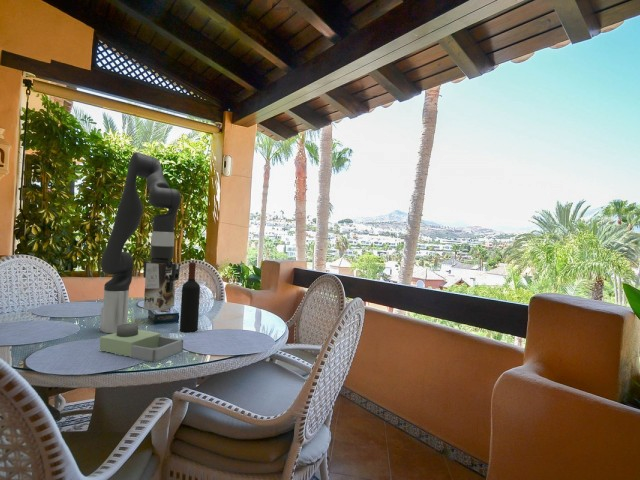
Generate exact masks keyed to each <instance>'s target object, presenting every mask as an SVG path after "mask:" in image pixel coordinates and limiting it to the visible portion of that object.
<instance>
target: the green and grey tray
mask: <svg viewBox="0 0 640 480" xmlns="http://www.w3.org/2000/svg"><path fill="white" fill-rule="evenodd" d="M139 326H140V325H139V324H135V323H127V324H122V325H119V326H117V333H108V334H106V335H102V336H100V337H99V351H100V350H101V351H100V352H102V351H106V352H105V353H107V352H111V353H116V354H120V355H119V356H121V355H124V356H123V357H126V356H130V357H129V358H131V357H133V358H132V359H136V358H138V359H137V360H143V361H146V362H151V363H156V362H159V361H161V360H164V359H166V358H168V357H169V358H170V357H171V356H174V355H175V354H176V355H177V354H178V353H180V352H184V339H180V338H175V337H174V338H173V337H168V336H163V335H162V333H161V332H156V331H149V330H144V329H139ZM111 353H110V354H111ZM116 354H115V355H116Z"/></svg>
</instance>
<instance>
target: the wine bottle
mask: <svg viewBox="0 0 640 480" xmlns="http://www.w3.org/2000/svg"><path fill="white" fill-rule="evenodd" d="M196 266H197V263H196V262H194V261H193V262H192V261H191V262H188V277H187V281H186V282H184V283H183V284H182V286H181V297H180V298H181V301H180V316H179V318H180V319H179V331H180V332H181V333H186V334H188V333H189V334H190V332H191V333H196V332H198V331H197V330H198V329H199V313H200V297H201V296H200V295H201V286H200V284H199V283H198V282H197V281H196ZM195 331H196V332H195Z"/></svg>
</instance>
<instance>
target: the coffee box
mask: <svg viewBox="0 0 640 480" xmlns="http://www.w3.org/2000/svg"><path fill="white" fill-rule="evenodd" d="M172 262H173V261H172ZM173 263H174V264H178V262H176V261H175V262H173ZM171 271H172V269H170V267H169V269H168V268H167V263H158V262H157V263H155V262H151V263H146V278H144V279H145V281H144V292H143V293H144V295H143V297H144V298H143V309H144V310H150V311H157V312H158V311H159V312H160V311H163V310H166V309H170V308H173V307H175V294H176V281H174V282H173V290H172V292H171V293H166V282H167V280H166V277H167V276H166V273H171ZM169 278H170V276H169Z"/></svg>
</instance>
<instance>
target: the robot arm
mask: <svg viewBox="0 0 640 480" xmlns="http://www.w3.org/2000/svg"><path fill="white" fill-rule="evenodd" d="M138 177H140V178H142V179H143V178H144V179H146V182H145V183H146V187H147V189H148V191H149V194H148V203H149V205H151V206H152V207H154V208H161V209H168V210H167V212H165V213H163V214H162V213H161V214H157V215H154V216H153V219H152V234H151V241H150V255H149V256H150V258H151V260H144V261H143V278H144V279H145V278H146V263H151V262H155V263H157V262H158V263H167V268H168V269H169V267H170V269H172V271H171V273H166V276H167V277H166V280H167V282H166V293H171V292H172V290H173V282H174V281H175V282H176V281H178V280H179V278H180V267H181V264H180V263H178V262H177V264H174V263H173V258H174V257H175V256H174V254H175V253H174V251H175V222H176V217H177V213H178V210H179V208H180V206H181V202H182V194H181V193H180V191H179V190H178V189H175V188H170V184H169V183H168V181H167V180H166V178H165V176H164V172H163V168H162V163H161V161H160V160H159V159H158V158H156V157H155V156H151V155H149V154H145V153H141V152H137V151H136V152H135V151H134V152H133V154H132V155H131V157H130V159H129V162H128V167H127V172H126V178H125V183H124V188H123V191H122V195H121V198H120V201H119V204H118V207H117V211H116V214H115V219H114V223H113V226H112V228H111V229H112V230H111V233H110V236H109V239H108V241H107V243H106V247H105V249H104V251H103V254H102V257H101V261H100V268H101V270H102V272H103V273H104V274H106V275H113V277H112V278H110V280H108V281H106V282H105V284H104V285H103V287H104V288H103V305H102V306H103V307H101V310H100V326H99V328H100V329H99V330H100V331H101V332H102V333H107V334H113V333H117V326H119V325H122V324H128V315H129V296H130V285H132V280H133V272H134V271H133V270H134V258H133V256H132V254H130V252H128V251H123V249H124V247H125V245H126V242H128V240H129V239H130V237H132V235H134V233H135V232H136V231H137V229H138V228H139V226H140V223H141V220H142V216H143V214H144V213H143V212H144V207H143V203H142V200H141V198H140V195H139V193H138V189H137V178H138ZM169 276H170V278H169Z"/></svg>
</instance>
